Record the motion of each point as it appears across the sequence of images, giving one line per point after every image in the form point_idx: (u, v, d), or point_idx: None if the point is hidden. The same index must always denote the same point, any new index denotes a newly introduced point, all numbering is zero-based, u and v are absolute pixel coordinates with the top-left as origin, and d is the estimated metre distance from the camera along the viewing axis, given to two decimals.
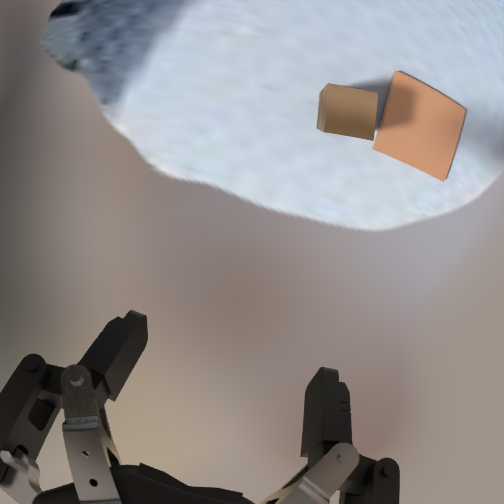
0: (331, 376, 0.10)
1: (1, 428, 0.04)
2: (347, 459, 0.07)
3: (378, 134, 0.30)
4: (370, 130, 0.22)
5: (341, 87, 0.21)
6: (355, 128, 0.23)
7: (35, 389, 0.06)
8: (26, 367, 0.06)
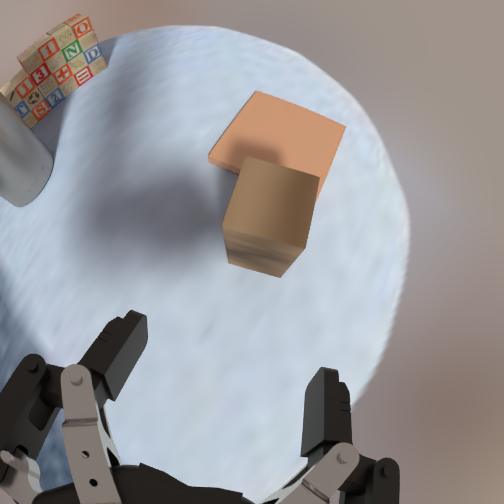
0: (331, 376, 0.10)
1: (1, 428, 0.04)
2: (347, 459, 0.07)
3: None
4: (304, 177, 0.17)
5: (231, 205, 0.16)
6: (302, 198, 0.16)
7: (35, 389, 0.06)
8: (26, 367, 0.06)
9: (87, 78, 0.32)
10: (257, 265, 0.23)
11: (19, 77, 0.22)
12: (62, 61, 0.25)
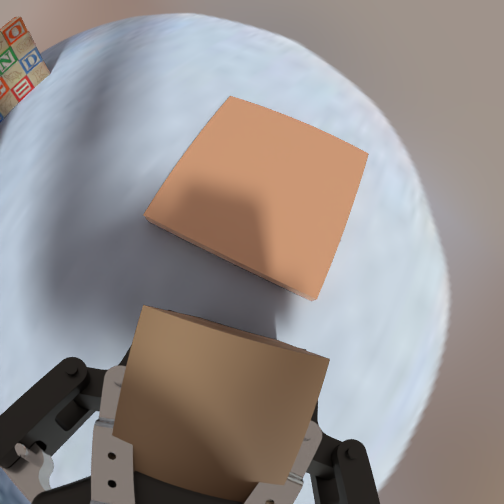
0: None
1: (23, 422, 0.05)
2: (309, 435, 0.07)
3: (281, 284, 0.16)
4: (289, 367, 0.06)
5: (120, 428, 0.06)
6: (277, 420, 0.06)
7: (70, 394, 0.06)
8: (64, 370, 0.07)
9: (27, 90, 0.22)
10: None
11: None
12: None
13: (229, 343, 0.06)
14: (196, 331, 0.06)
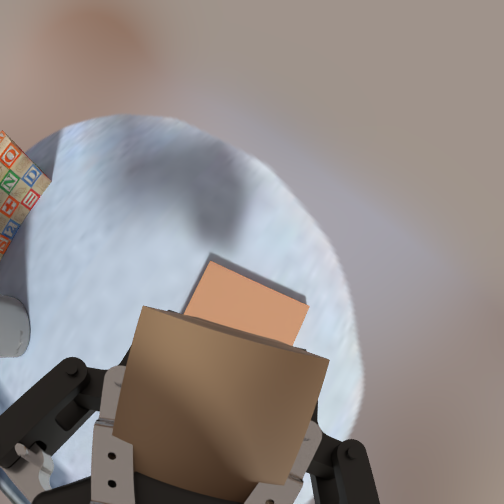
0: None
1: (23, 422, 0.05)
2: (309, 436, 0.07)
3: None
4: (289, 368, 0.06)
5: (119, 428, 0.06)
6: (277, 421, 0.06)
7: (70, 394, 0.06)
8: (65, 369, 0.07)
9: (35, 199, 0.32)
10: None
11: None
12: (3, 195, 0.25)
13: (229, 344, 0.06)
14: (196, 332, 0.06)
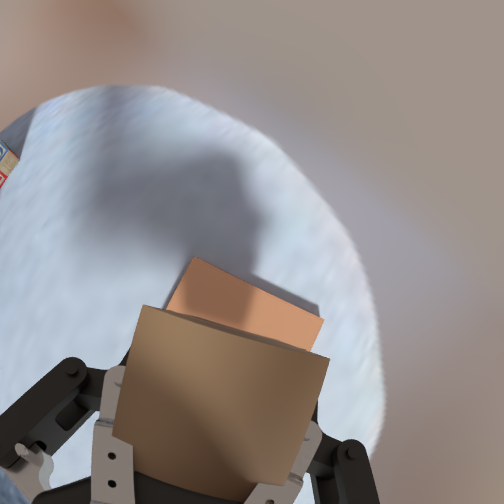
0: None
1: (23, 422, 0.05)
2: (309, 436, 0.07)
3: None
4: (289, 367, 0.06)
5: (119, 428, 0.06)
6: (278, 421, 0.06)
7: (70, 394, 0.06)
8: (65, 370, 0.07)
9: (2, 181, 0.24)
10: None
11: None
12: None
13: (229, 343, 0.06)
14: (196, 331, 0.06)
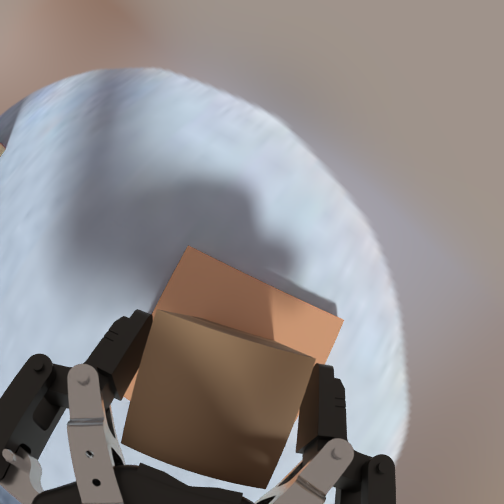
0: (326, 372, 0.10)
1: (4, 427, 0.04)
2: (342, 455, 0.07)
3: None
4: (280, 364, 0.07)
5: (132, 415, 0.07)
6: (270, 410, 0.07)
7: (41, 389, 0.06)
8: (32, 367, 0.06)
9: None
10: None
11: None
12: None
13: (230, 343, 0.08)
14: (202, 332, 0.08)
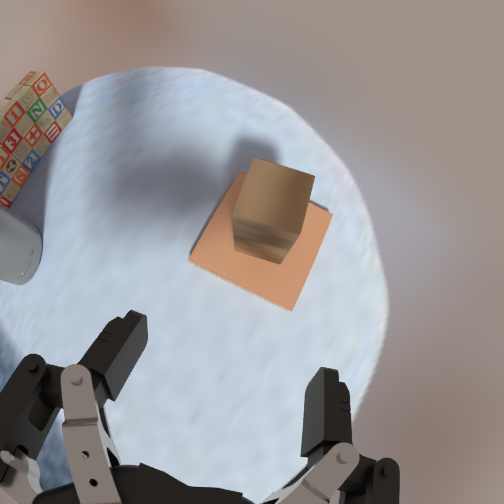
0: (331, 376, 0.10)
1: (1, 428, 0.04)
2: (347, 459, 0.07)
3: (272, 302, 0.28)
4: (301, 176, 0.20)
5: (240, 197, 0.19)
6: (299, 193, 0.20)
7: (35, 389, 0.06)
8: (26, 367, 0.06)
9: (57, 133, 0.34)
10: (260, 252, 0.26)
11: None
12: (30, 122, 0.27)
13: (282, 167, 0.20)
14: (271, 164, 0.20)
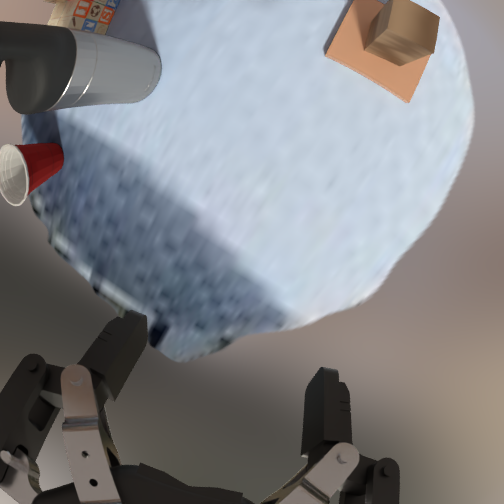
0: (331, 376, 0.10)
1: (1, 428, 0.04)
2: (347, 459, 0.07)
3: (393, 93, 0.26)
4: (431, 14, 0.13)
5: (391, 19, 0.15)
6: (430, 25, 0.14)
7: (35, 389, 0.06)
8: (26, 367, 0.06)
9: None
10: (388, 55, 0.22)
11: (65, 8, 0.17)
12: None
13: (417, 5, 0.13)
14: (409, 1, 0.13)
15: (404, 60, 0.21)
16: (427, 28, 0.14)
